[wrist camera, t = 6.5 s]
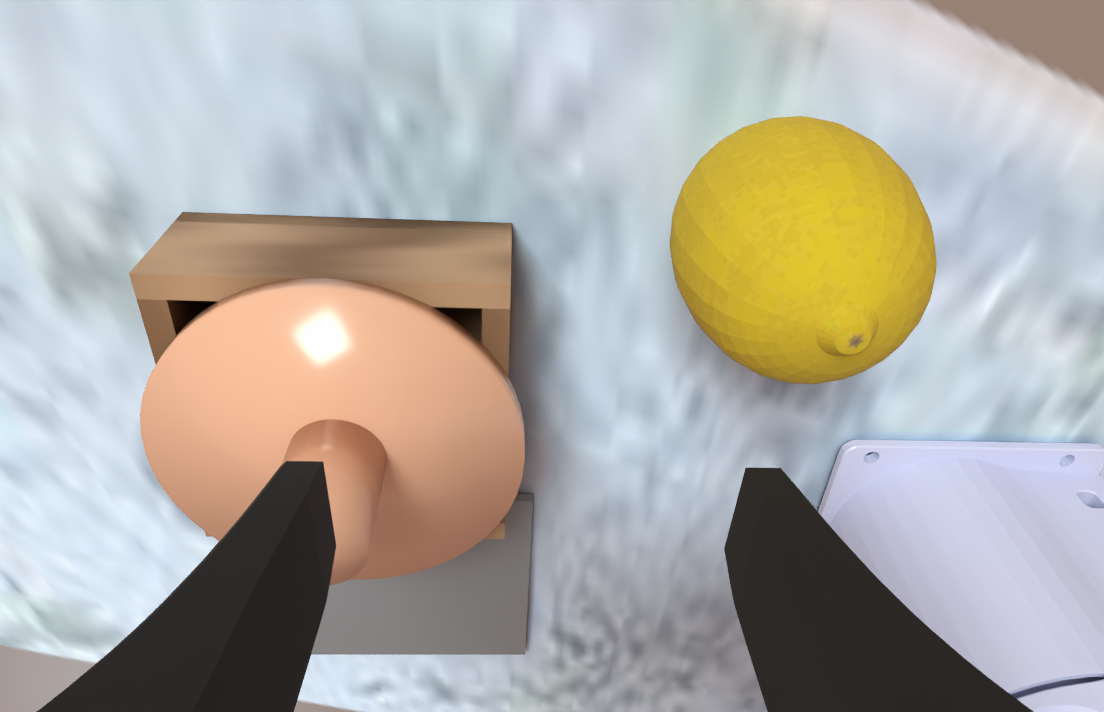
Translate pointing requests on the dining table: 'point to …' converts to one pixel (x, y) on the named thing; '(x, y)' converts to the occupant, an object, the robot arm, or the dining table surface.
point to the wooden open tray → (330, 268)
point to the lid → (339, 419)
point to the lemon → (802, 250)
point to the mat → (440, 602)
